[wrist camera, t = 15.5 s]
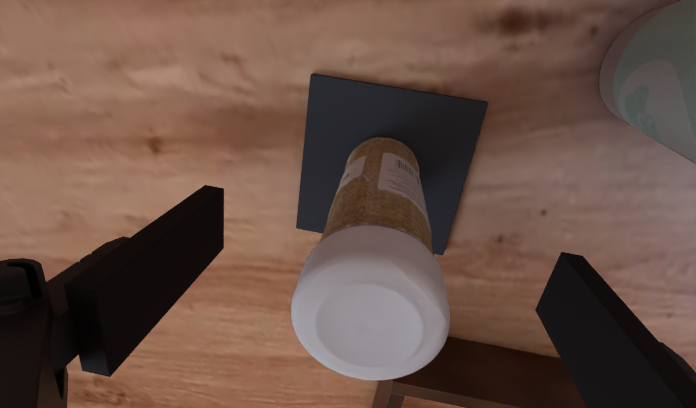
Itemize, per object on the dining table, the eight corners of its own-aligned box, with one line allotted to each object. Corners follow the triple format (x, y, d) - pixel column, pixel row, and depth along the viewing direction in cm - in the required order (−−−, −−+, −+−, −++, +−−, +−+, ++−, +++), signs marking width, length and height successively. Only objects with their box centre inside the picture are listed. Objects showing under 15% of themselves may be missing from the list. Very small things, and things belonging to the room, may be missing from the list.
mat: (486, 101, 20) (488, 102, 20) (442, 252, 24) (443, 255, 24) (312, 73, 21) (310, 73, 20) (297, 225, 25) (296, 228, 24)
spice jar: (335, 149, 22) (259, 281, 10) (407, 124, 21) (426, 237, 9) (360, 214, 23) (323, 398, 11) (429, 194, 22) (471, 374, 10)
